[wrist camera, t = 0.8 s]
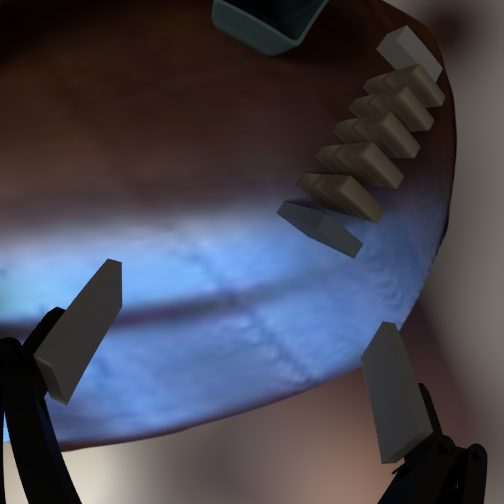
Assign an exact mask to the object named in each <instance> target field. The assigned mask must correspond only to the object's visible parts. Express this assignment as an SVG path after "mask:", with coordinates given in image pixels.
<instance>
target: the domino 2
mask: <svg viewBox="0 0 504 504" xmlns="http://www.w3.org/2000/svg"><path fill="white" fill-rule="evenodd" d="M296 185H297V186H299V187H300V188H301V189H302V190H304V191H305V192H306V193H307V194H309V195H310V196H311V197H312V198H314V199H315V200H316V201H317V202H318V203H320V204H321V205H322V206H323V207H324V208H326V209H328V210H331V211H335V212H339V213H343V214H346V215H350V216H353V217H357V218H361V219H364V220H368V221H371V222H375V223H377V221H378V220H379V218H380V217H381V215H382V213H383V212H384V210H385V209H384V208H383V207H382V206H381V205H380V204H379V203H378V202H377V201H376V200H375V199H374V198H373V197H372V196H371V195H370V194H369V193H368V192H367V191H366V190H365V189H364V188H363V187H362V186H361V185H360V184H359V183H358V182H357V181H356V180H355V179H354V178H353V177H352V176H345V175H329V174H310V173H303V175H302V176H301V178H300V179H299V181H298V182H297V183H296Z"/></svg>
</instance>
